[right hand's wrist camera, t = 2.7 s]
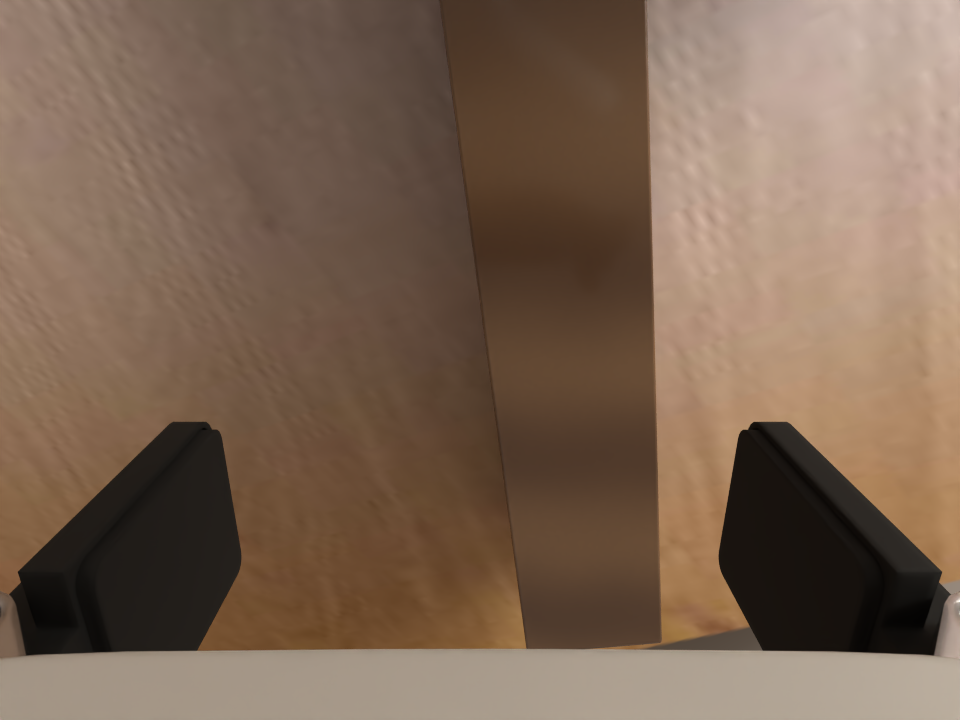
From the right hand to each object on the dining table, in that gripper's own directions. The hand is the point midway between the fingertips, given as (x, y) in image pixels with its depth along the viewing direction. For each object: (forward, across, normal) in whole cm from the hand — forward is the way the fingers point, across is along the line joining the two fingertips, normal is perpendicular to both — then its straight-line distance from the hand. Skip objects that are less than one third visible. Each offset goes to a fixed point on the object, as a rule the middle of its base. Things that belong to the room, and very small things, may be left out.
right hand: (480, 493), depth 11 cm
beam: (+17, 0, -24) cm, 30 cm away
